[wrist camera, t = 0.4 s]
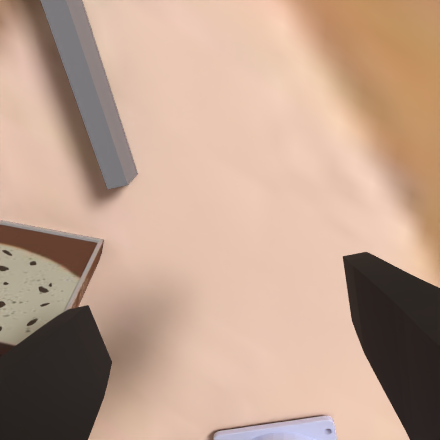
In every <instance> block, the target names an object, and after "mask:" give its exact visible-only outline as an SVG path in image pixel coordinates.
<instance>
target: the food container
mask: <svg viewBox="0 0 440 440" xmlns="http://www.w3.org/2000/svg"><path fill="white" fill-rule="evenodd" d="M103 242H104V240H103V239H97V238H92V237H87V236H82V235H76V234H71V233H66V232H61V231H55V230H50V229H45V228H40V227H34V226H29V225H24V224H18V223H13V222H8V221H3V220H0V357H1V356H2V355H4V354H5V353H6V352H8V351H9V350H11V349H12V348H13V347H15V346H16V345H17V344H19V343H20V342H21V341H23V340H24V339H25V338H27V337H28V336H30V335H31V334H32V333H34V332H35V331H36V330H38V329H39V328H40V327H42V326H43V325H45V324H46V323H47V322H49V321H50V320H52V319H53V318H55V317H56V316H58V315H59V314H61V313H63V312H64V311H66V310H68V309H72V308H77V307H78V306H79V304H80V302H81V299H82V297H83V295H84V293H85V291H86V288H87V286H88V284H89V282H90V280H91V277H92V275H93V273H94V271H95V269H96V267H97V264H98V262H99V259H100V256H101V254H102V248H103Z"/></svg>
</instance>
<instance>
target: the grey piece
mask: <svg viewBox="0 0 440 440" xmlns="http://www.w3.org/2000/svg"><path fill="white" fill-rule="evenodd" d="M40 1H41V4H42V6H43V9H44V12H45V15H46V18H47V20H48V23H49V26H50V29H51V32H52V34H53V37H54V40H55V43H56V46H57V49H58V51H59V54H60V57H61V60H62V63H63V65H64V68H65V71H66V74H67V77H68V80H69V82H70V85H71V88H72V91H73V94H74V96H75V99H76V102H77V105H78V108H79V111H80V113H81V116H82V119H83V122H84V125H85V127H86V130H87V133H88V136H89V139H90V141H91V144H92V147H93V150H94V153H95V156H96V158H97V161H98V164H99V167H100V170H101V172H102V175H103V178H104V181H105V184H106V187H107V189H112V188H116V187H121V186H125V185H128V184H129V183H130V182H131V181H132V180H133V179H134V178H135V176H136V175H137V174H138V173H137V170H136V167H135V163H134V160H133V157H132V154H131V151H130V148H129V145H128V142H127V139H126V135H125V132H124V129H123V126H122V123H121V120H120V117H119V114H118V110H117V107H116V104H115V101H114V98H113V95H112V92H111V89H110V86H109V82H108V79H107V76H106V73H105V70H104V67H103V64H102V61H101V58H100V54H99V51H98V48H97V45H96V42H95V39H94V36H93V33H92V29H91V26H90V23H89V20H88V17H87V14H86V11H85V8H84V5H83V1H82V0H40Z"/></svg>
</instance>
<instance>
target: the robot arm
mask: <svg viewBox="0 0 440 440" xmlns="http://www.w3.org/2000/svg"><path fill="white" fill-rule="evenodd" d="M343 261H344V268H345V275H346V282H347V289H348V296H349V303H350V311H351V318H352V322H353V325H354V328H355V330H356V333H357V336H358V338H359V341H360V343H361V346H362V348H363V351H364V353H365V355H366V357H367V359H368V361H369V363H370V365H371V367H372V369H373V371H374V372H375V374H376V376H377V378H378V380H379V382H380V384H381V386H382V387H383V389H384V391H385V393H386V395H387V397H388V399H389V400H390V402H391V404H392V406H393V408H394V410H395V412H396V414H397V415H398V417H399V419H400V421H401V423H402V425H403V427H404V428H405V430H406V432H407V434H408V436H409V438H410V440H440V288H438V287H436V286H434V285H432V284H430V283H427V282H425V281H423V280H421V279H419V278H417V277H415V276H413V275H411V274H409V273H407V272H405V271H403V270H401V269H399V268H397V267H395V266H393V265H391V264H389V263H387V262H386V261H384V260H382V259H380V258H378V257H376V256H374V255H372V254H370V253H368V252H363V253H358V254H353V255H348V256H343ZM111 364H112V361H111V359H110V356H109V354H108V351H107V349H106V346H105V344H104V342H103V339H102V337H101V334H100V332H99V330H98V327H97V325H96V322H95V320H94V318H93V315H92V313H91V310H90V308H89V306H82V307H77V308H72V309H68V310H66V311H64V312H63V313H61V314H59V315H58V316H56V317H55V318H53V319H52V320H50V321H49V322H47V323H46V324H45V325H43V326H42V327H40V328H39V329H38V330H36V331H35V332H34V333H32V334H31V335H30V336H28V337H27V338H25V339H24V340H23V341H21V342H20V343H19V344H17V345H16V346H15V347H13V348H12V349H11V350H9V351H8V352H6V353H5V354H4V355H2V356H1V357H0V440H88V438H89V435H90V433H91V430H92V427H93V425H94V422H95V420H96V417H97V414H98V412H99V409H100V406H101V404H102V401H103V398H104V395H105V391H106V387H107V383H108V379H109V374H110V369H111ZM213 440H337V436H336V430H335V425H334V421H333V419H332V418H331V417H330V416H320V417H313V418H306V419H299V420H292V421H285V422H278V423H271V424H264V425H257V426H250V427H243V428H236V429H230V430H223V431H218V432H216V433H215V434H214V437H213Z"/></svg>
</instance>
